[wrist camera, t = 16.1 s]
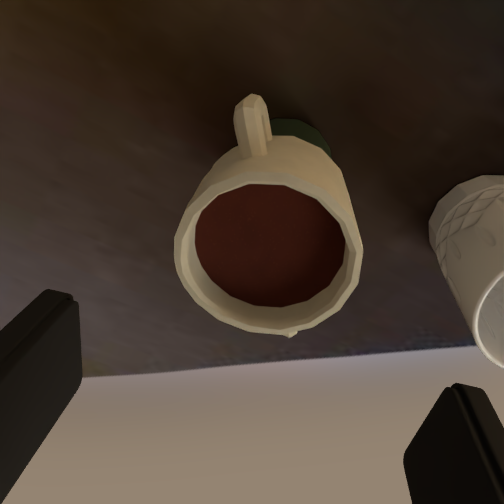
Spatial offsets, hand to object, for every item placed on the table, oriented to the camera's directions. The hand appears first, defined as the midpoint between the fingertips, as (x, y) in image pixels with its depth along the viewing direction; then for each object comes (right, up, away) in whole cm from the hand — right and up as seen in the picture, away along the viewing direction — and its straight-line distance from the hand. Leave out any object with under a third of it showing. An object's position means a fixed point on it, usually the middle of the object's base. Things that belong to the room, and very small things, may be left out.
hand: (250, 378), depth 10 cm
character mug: (+2, +9, +16) cm, 18 cm away
